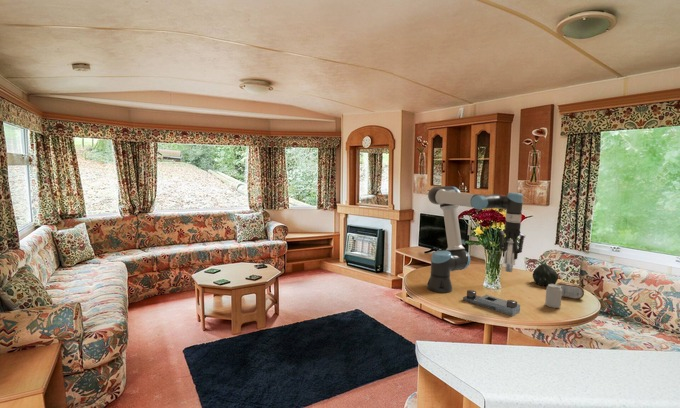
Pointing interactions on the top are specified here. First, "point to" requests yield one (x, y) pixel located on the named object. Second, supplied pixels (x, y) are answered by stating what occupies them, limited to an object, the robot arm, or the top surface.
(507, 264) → the steel pin
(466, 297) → the plate with dome knobs
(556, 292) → the can
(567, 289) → the tin
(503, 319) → the top surface
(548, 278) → the squash
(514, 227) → the robot arm
